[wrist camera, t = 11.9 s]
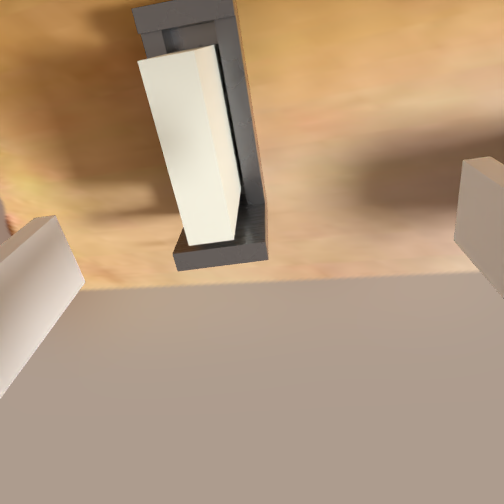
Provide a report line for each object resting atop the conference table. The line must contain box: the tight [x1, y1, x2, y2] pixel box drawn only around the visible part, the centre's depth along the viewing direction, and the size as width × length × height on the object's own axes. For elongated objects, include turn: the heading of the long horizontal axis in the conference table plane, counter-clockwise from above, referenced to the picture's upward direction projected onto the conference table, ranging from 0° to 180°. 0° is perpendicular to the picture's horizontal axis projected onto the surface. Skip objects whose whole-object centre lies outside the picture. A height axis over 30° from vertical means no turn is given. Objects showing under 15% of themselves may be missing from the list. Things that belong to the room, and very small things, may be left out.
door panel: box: [137, 44, 242, 246], centre depth 28 cm, size 11×3×12 cm, turn 9°
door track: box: [132, 0, 268, 271], centre depth 29 cm, size 17×7×11 cm, turn 9°
